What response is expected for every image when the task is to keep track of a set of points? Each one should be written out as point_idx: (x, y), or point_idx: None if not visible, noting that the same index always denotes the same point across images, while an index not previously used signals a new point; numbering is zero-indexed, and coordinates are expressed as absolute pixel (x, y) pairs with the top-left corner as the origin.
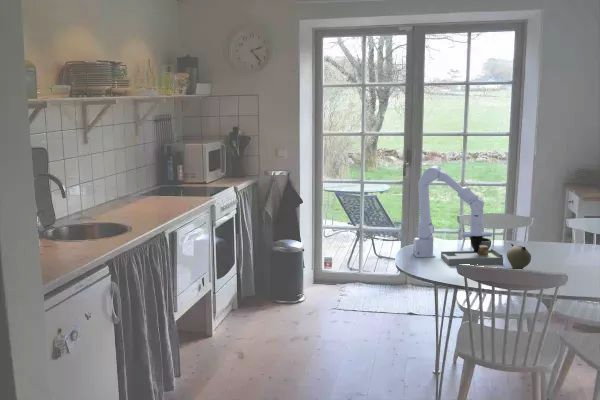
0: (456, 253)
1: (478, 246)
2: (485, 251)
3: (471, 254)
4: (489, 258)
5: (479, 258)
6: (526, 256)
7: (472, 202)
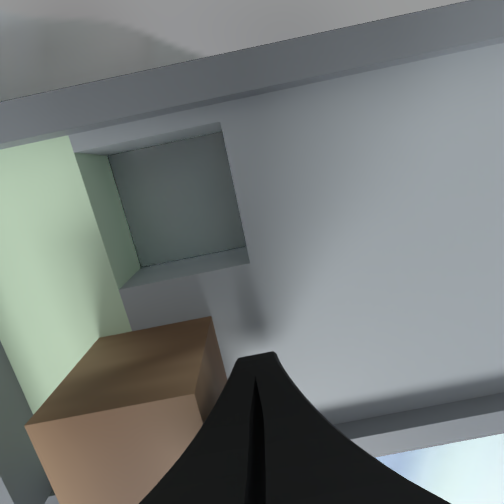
0: (489, 384)
1: (225, 411)
2: (114, 362)
3: (311, 359)
4: (77, 86)
5: (246, 49)
6: None
7: None
